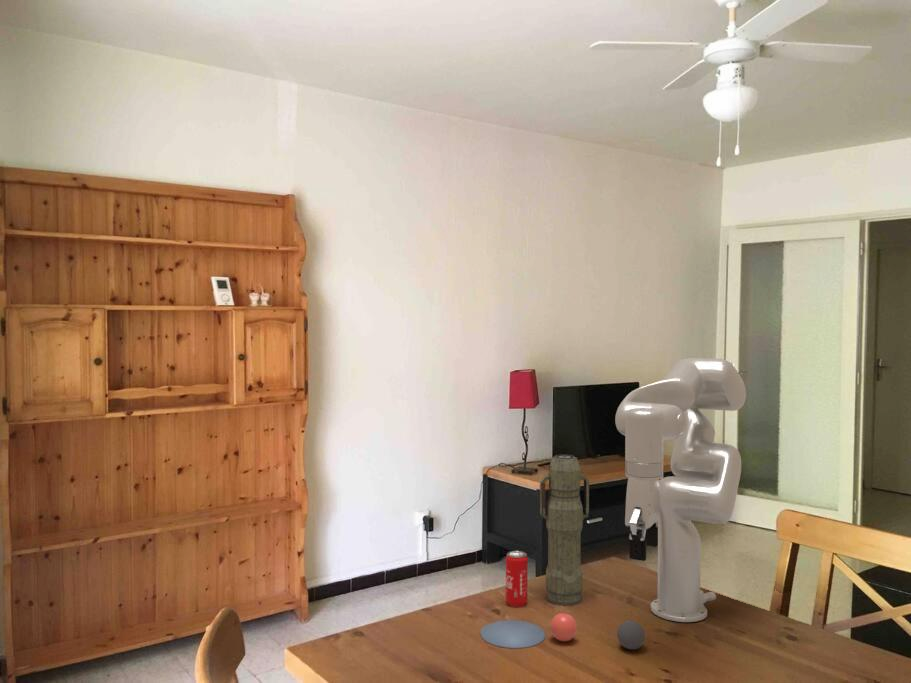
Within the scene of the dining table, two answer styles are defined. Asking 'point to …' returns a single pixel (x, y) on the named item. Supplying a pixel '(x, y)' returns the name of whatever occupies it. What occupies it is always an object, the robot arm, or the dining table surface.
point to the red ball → (563, 627)
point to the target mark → (512, 634)
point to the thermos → (564, 529)
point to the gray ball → (631, 635)
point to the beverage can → (516, 578)
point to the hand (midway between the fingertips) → (644, 552)
